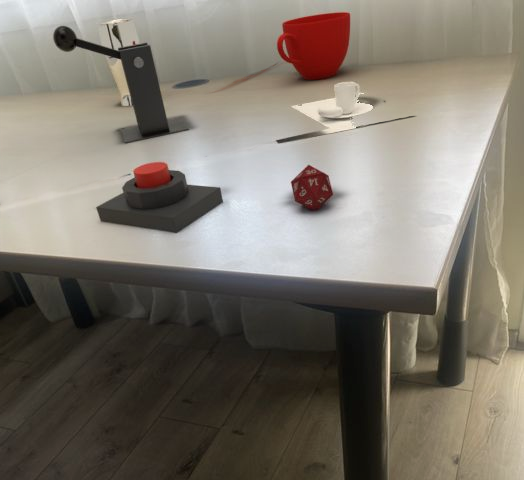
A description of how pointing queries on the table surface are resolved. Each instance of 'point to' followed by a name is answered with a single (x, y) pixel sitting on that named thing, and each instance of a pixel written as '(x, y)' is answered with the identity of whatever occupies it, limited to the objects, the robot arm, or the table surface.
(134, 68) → the switch bracket
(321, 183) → the dice
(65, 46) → the switch lever
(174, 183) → the grey button base
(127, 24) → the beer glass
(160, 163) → the stop button
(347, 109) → the teacup and saucer
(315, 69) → the ceramic cup
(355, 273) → the table surface
